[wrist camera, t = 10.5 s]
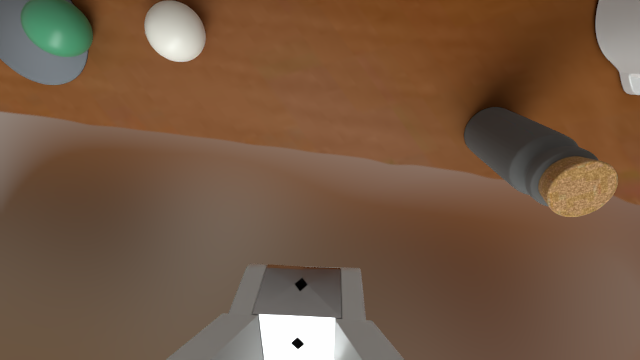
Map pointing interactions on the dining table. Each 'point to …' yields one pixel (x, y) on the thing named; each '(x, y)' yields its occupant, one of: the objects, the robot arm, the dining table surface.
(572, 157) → the bottle
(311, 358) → the robot arm
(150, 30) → the cue ball
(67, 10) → the green ball
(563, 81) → the dining table surface
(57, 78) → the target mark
